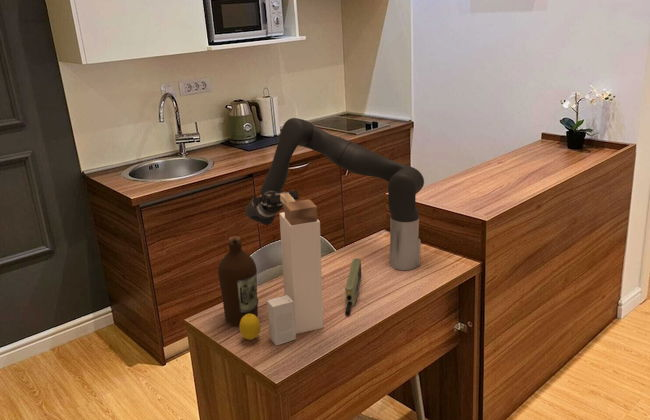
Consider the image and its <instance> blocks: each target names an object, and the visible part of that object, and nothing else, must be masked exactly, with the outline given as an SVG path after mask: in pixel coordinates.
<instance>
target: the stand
mask: <svg viewBox="0 0 650 420" xmlns="http://www.w3.org/2000/svg"><path fill="white" fill-rule="evenodd" d="M278 213H279V226H280V227H279V229H280V242H281V243H280V244H281V245H280V246H281V260H282V261H281V263H282V264H281V265H282V277H283V278H282V279H283V281H282V282H283V294H284V295H288V296H289V297H290V298H291V299H292V300H293V302H294V318H295V333H296V335H297V334H302V333H306V332H311V331H315V330H319V329H320V330H321V329H324V314H323V313H324V309H323V280H322V279H323V277H322V276H323V275H322V274H323V273H322V251H321V250H322V247H321V246H322V245H321V241H322V240H321V222H320V220H319V219H318V218H317V221H316V222H310V223H304V224H297V225H291V224H290V223H289V222H288V221H287V219H286V218H285V211H282V212H278ZM284 295H283V296H284Z"/></svg>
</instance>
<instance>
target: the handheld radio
mask: <svg viewBox="0 0 650 420" xmlns="http://www.w3.org/2000/svg"><path fill="white" fill-rule="evenodd" d="M349 267H350V268H349V269H350V270H349V273H348V277H347V280H346V285H345V288H344V289H345V302H346V303H345V305H346V307H345V312H344V314H345V315H346V316H349V315H350V314H351V309H352V307H355V305H356V301H357V298H358V294H359V290H360V284H361V281H362V275H363V274H362V260H361V258H359V257H355V258H353V259H352V260H351V264H350V266H349Z"/></svg>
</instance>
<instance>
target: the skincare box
mask: <svg viewBox="0 0 650 420" xmlns="http://www.w3.org/2000/svg"><path fill="white" fill-rule="evenodd" d="M266 307H267V315H268V317H267V318H268V328H269V338H270V341H272V343H273V344H274V345H275V346H279V345H282V344H286V343H289V342H291V341H295V340H296V339H297V337H296V335H297V334H296V333H295V318H294V302H293V300H292V299H291V298H290V297H289V296H288V295H282V296H278V297H275V298H274V297H273V298H270V299H268V300H266Z"/></svg>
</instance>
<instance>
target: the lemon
mask: <svg viewBox="0 0 650 420" xmlns="http://www.w3.org/2000/svg"><path fill="white" fill-rule="evenodd" d="M239 332H240V334H241V336H242V337H243V338H244V339H246V340H250V341H252V340H253V339H255V338H257V337H258V336H259V334H260V333H261V322H260V320H259V318H258V317H256V316H255V315H253V314H246V315H245V316H243V317H242V319H241V321H240V326H239Z"/></svg>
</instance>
